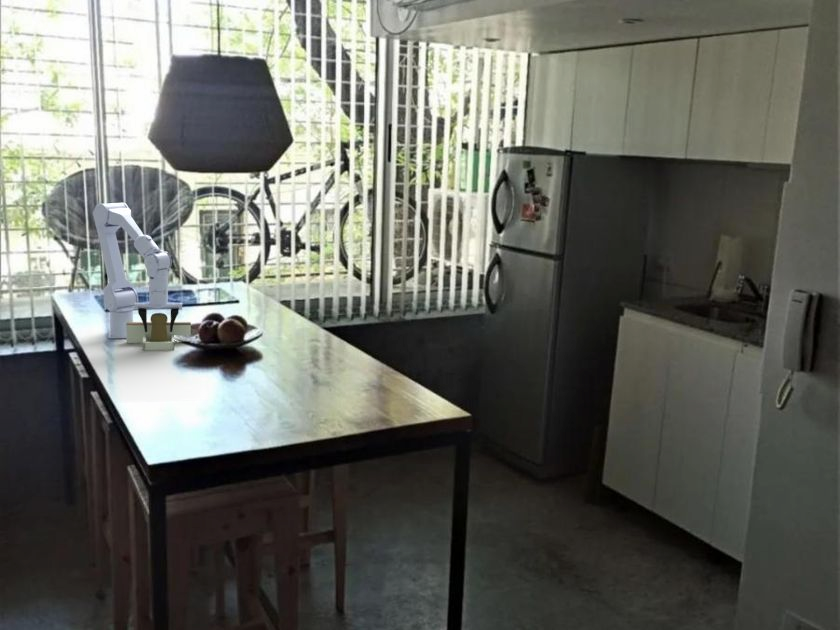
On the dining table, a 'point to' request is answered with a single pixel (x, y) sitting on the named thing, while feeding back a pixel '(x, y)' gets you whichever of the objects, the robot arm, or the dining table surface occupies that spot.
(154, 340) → the cork
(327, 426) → the dining table surface
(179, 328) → the stand
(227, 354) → the dining table surface
